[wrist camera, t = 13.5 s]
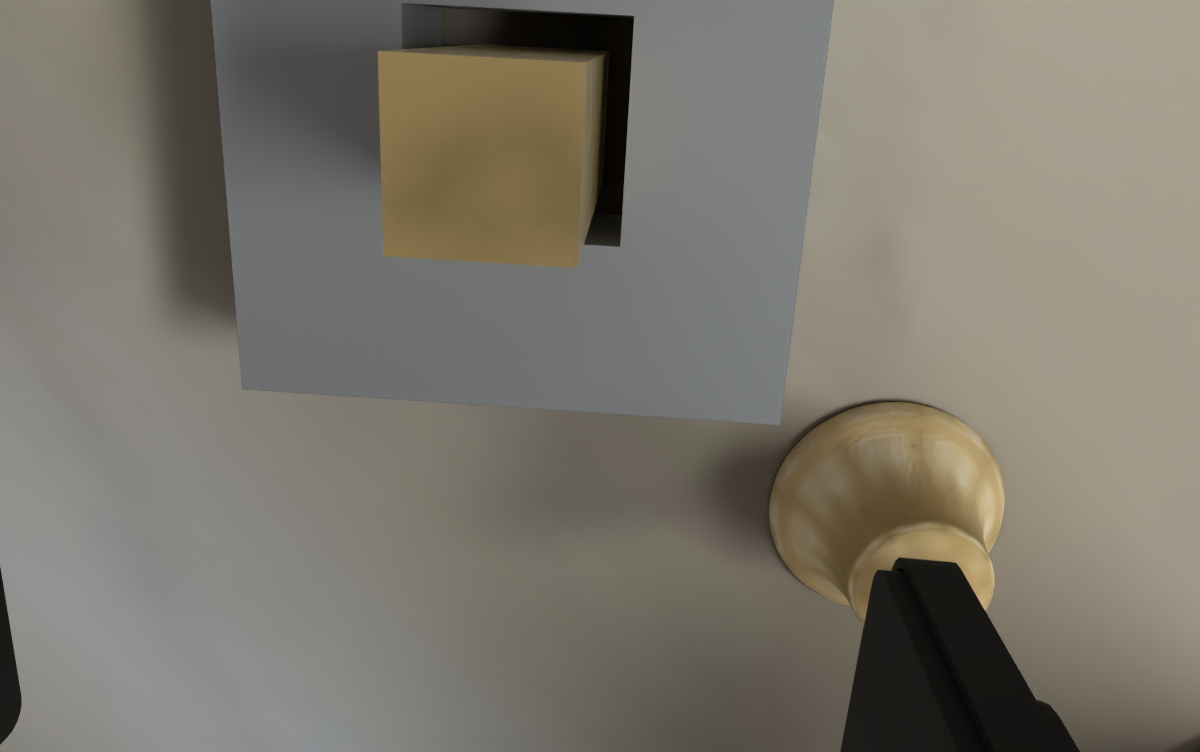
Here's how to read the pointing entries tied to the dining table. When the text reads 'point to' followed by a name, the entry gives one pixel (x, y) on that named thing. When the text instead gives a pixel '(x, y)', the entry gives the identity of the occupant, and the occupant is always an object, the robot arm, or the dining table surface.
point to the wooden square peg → (491, 152)
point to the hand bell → (886, 500)
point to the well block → (512, 291)
